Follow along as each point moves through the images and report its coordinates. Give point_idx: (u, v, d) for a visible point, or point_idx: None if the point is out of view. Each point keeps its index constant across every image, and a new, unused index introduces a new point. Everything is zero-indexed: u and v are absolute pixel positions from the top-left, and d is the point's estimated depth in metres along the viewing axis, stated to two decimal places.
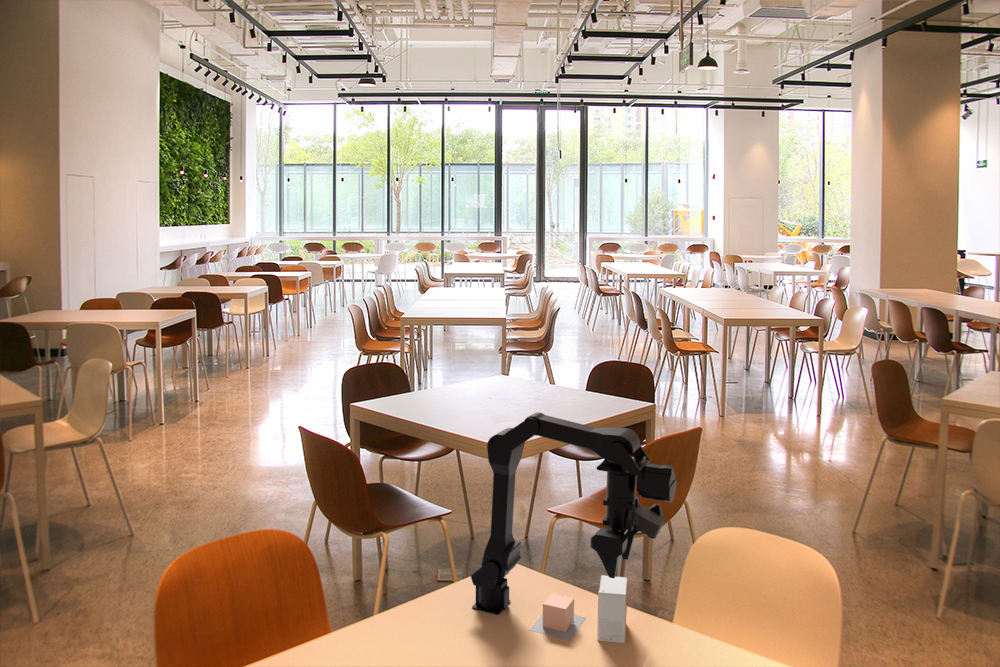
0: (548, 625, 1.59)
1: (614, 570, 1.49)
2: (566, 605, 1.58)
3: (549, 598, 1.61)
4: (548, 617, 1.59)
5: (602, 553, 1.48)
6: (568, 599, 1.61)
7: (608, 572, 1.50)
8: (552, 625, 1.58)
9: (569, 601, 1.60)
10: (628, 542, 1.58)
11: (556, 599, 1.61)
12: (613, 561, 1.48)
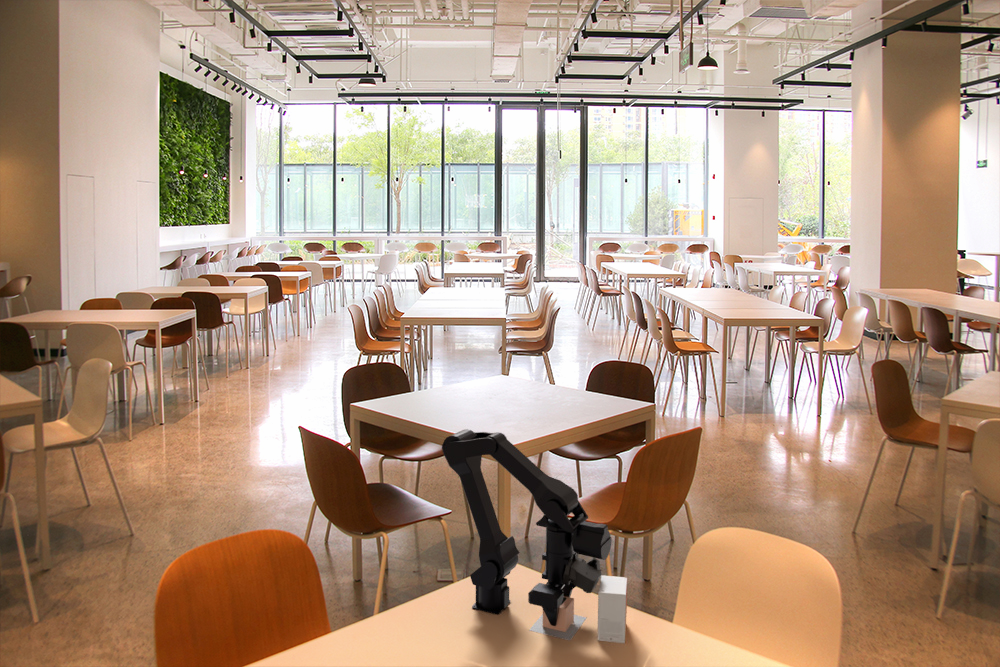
0: (548, 625, 1.59)
1: (555, 618, 1.57)
2: (566, 605, 1.58)
3: None
4: None
5: None
6: (568, 599, 1.61)
7: (550, 620, 1.58)
8: None
9: (569, 601, 1.60)
10: None
11: None
12: (554, 610, 1.56)
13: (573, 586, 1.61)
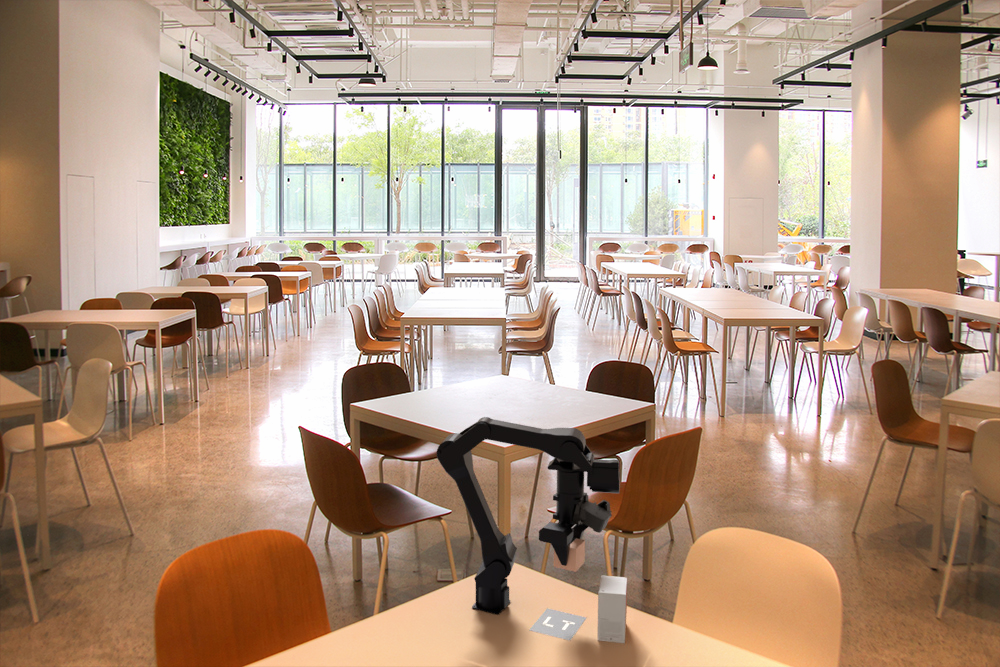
0: (559, 565, 1.62)
1: (565, 558, 1.60)
2: (577, 545, 1.61)
3: None
4: None
5: None
6: (579, 540, 1.64)
7: (560, 560, 1.61)
8: (563, 565, 1.61)
9: (580, 542, 1.63)
10: None
11: None
12: (564, 549, 1.59)
13: (584, 528, 1.64)
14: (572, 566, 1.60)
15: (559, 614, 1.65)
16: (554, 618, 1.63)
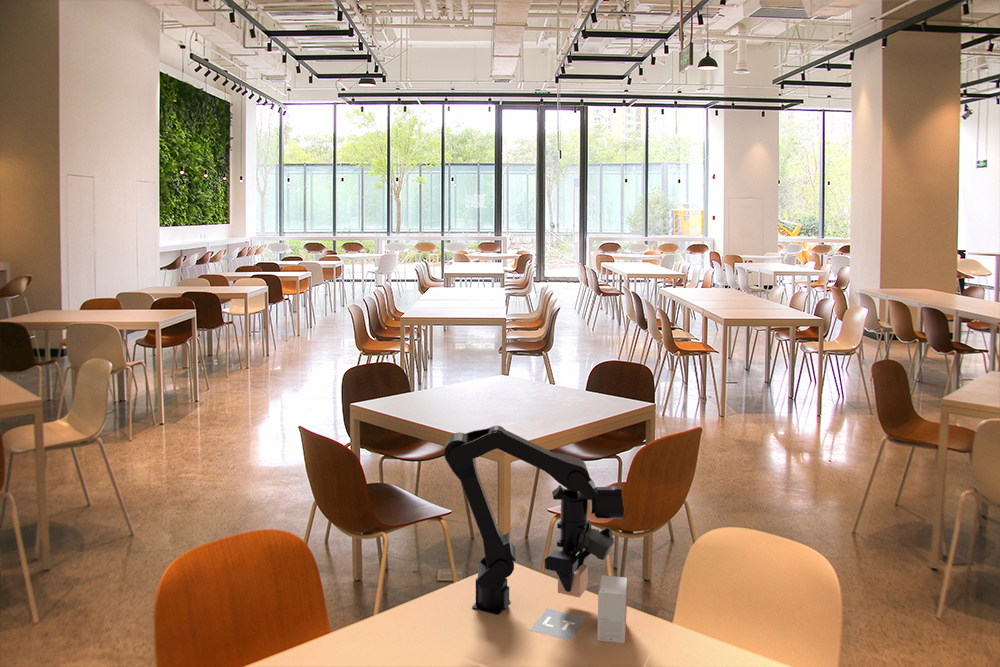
0: (563, 591, 1.66)
1: (570, 584, 1.64)
2: (581, 572, 1.65)
3: None
4: None
5: None
6: (582, 567, 1.68)
7: (564, 586, 1.65)
8: None
9: (583, 568, 1.67)
10: None
11: None
12: (568, 576, 1.63)
13: (586, 554, 1.68)
14: (576, 592, 1.65)
15: (559, 614, 1.65)
16: (554, 618, 1.63)
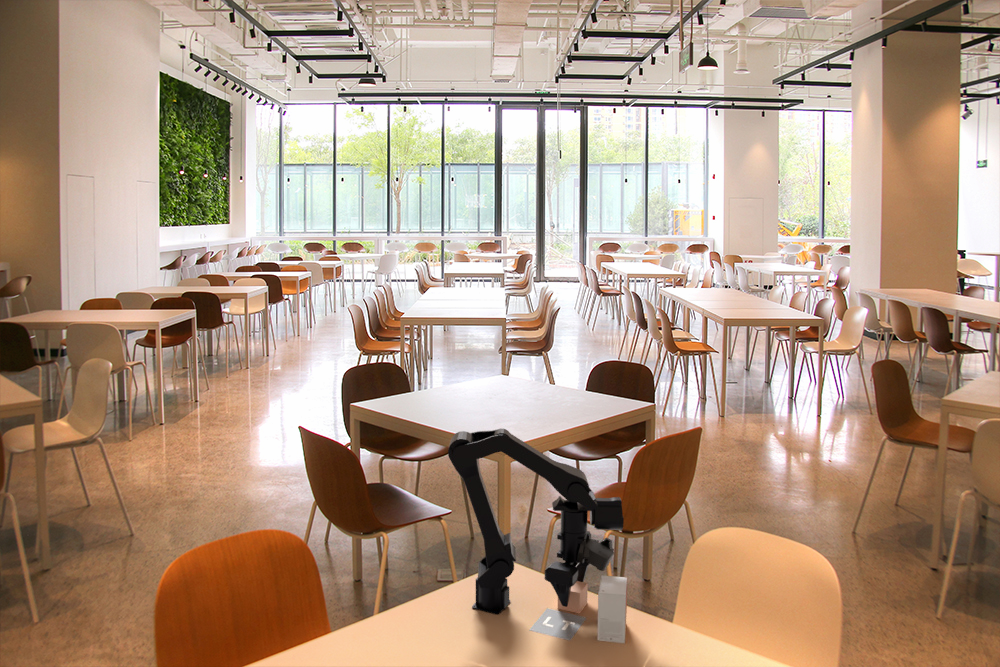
0: (563, 608, 1.66)
1: (566, 599, 1.63)
2: (580, 589, 1.66)
3: None
4: None
5: (555, 584, 1.62)
6: (582, 584, 1.68)
7: (561, 601, 1.63)
8: (567, 608, 1.66)
9: (583, 586, 1.67)
10: (582, 572, 1.71)
11: None
12: (565, 591, 1.62)
13: None
14: (576, 609, 1.65)
15: (559, 614, 1.65)
16: (554, 618, 1.63)
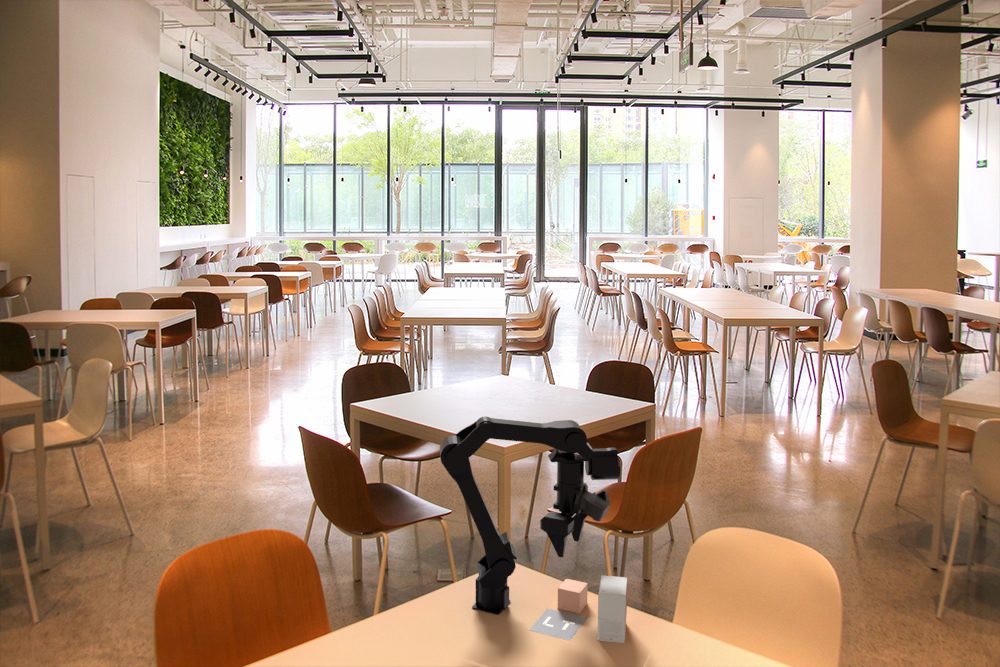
0: (563, 608, 1.66)
1: (562, 550, 1.63)
2: (580, 589, 1.66)
3: (564, 583, 1.69)
4: (562, 600, 1.66)
5: (551, 534, 1.62)
6: (582, 584, 1.68)
7: (557, 552, 1.64)
8: (567, 608, 1.66)
9: (583, 586, 1.67)
10: (579, 525, 1.72)
11: (570, 584, 1.68)
12: (561, 541, 1.62)
13: (586, 514, 1.71)
14: (576, 609, 1.65)
15: (559, 614, 1.65)
16: (554, 618, 1.63)
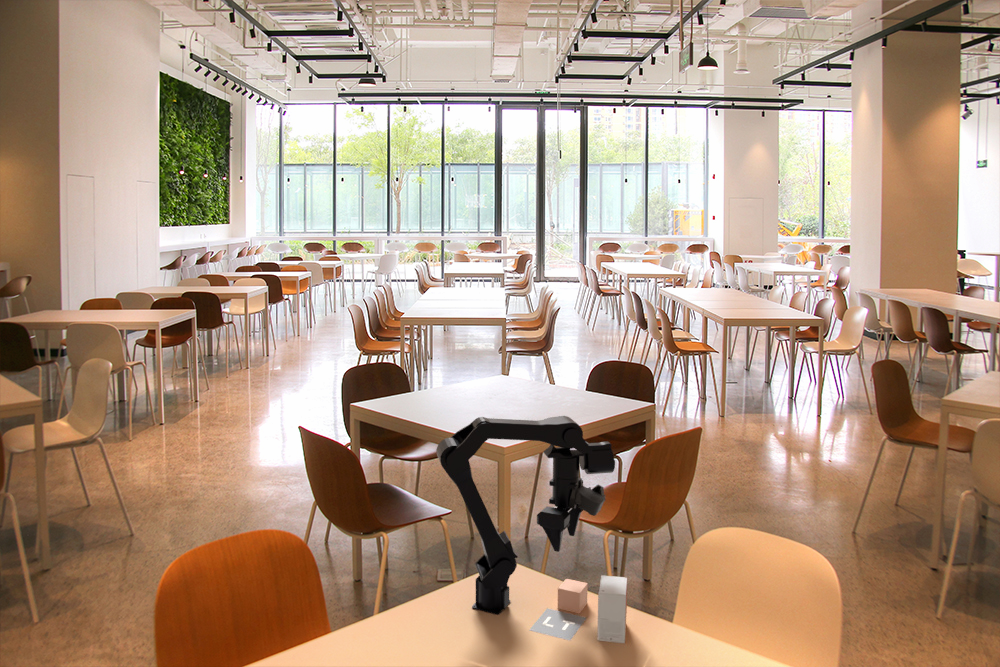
0: (563, 608, 1.66)
1: (558, 544, 1.64)
2: (580, 589, 1.66)
3: (564, 583, 1.69)
4: (562, 600, 1.66)
5: (547, 529, 1.64)
6: (582, 584, 1.68)
7: (553, 546, 1.65)
8: (567, 608, 1.66)
9: (583, 586, 1.67)
10: (574, 520, 1.73)
11: (570, 584, 1.68)
12: (557, 536, 1.64)
13: (581, 509, 1.72)
14: (576, 609, 1.65)
15: (559, 614, 1.65)
16: (554, 618, 1.63)
